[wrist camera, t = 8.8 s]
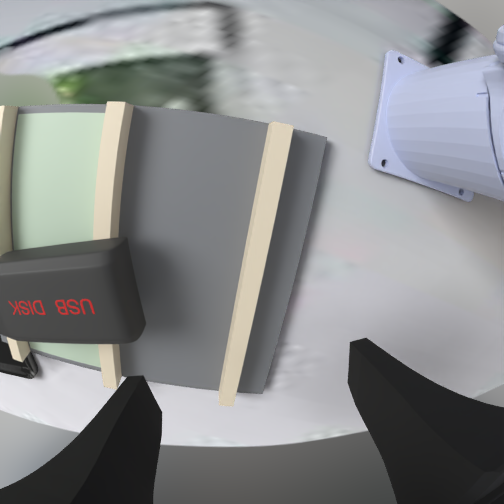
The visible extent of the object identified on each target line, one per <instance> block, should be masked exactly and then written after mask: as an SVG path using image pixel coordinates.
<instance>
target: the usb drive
mask: <svg viewBox="0 0 504 504" xmlns="http://www.w3.org/2000/svg"><path fill="white" fill-rule="evenodd" d="M145 326H146V320H145V316H144V312H143V308H142V304H141V300H140V296H139V292H138V287H137V283H136V278H135V274H134V269H133V264H132V259H131V254H130V249H129V243H128V238H127V237H117V238H108V239H99V240H91V241H83V242H74V243H66V244H59V245H51V246H43V247H36V248H28V249H21V250H14V251H8V252H6V253H5V254H3V255H2V256H0V334H1V335H3V336H6V337H8V338H11V339H13V340H16V341H26V342H42V343H65V344H127V343H132V342H134V341H137V340H138V339H139V338H140V336H141V335H142V333H143V331H144V329H145Z"/></svg>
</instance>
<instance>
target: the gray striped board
mask: <svg viewBox="0 0 504 504" xmlns="http://www.w3.org/2000/svg"><path fill="white" fill-rule="evenodd" d="M293 127H294V126H292V125H288V124H283V123H279V122H274V121H273V122H271V123H269V124H268V123H263V122H258V121H253V120H247V119H242V118H236V117H230V116H224V115H217V114H210V113H203V112H196V111H188V110H179V109H169V108H159V107H146V106H133V105H131V104H129V103H126V102H109V101H107V104H57V105H35V106H21V107H16V106H0V256H2V255H3V254H5V253H6V252H8V251H14V250H21V249H28V248H36V247H43V246H51V245H59V244H66V243H74V242H83V241H91V240H99V239H108V238H117V237H127V238H128V243H129V249H130V254H131V259H132V264H133V269H134V274H135V278H136V283H137V287H138V292H139V296H140V300H141V304H142V308H143V312H144V316H145V320H146V326H145V329H144V331H143V333H142V335H141V336H140V338H139V339H138V340H137V341H134V342H132V343H127V344H65V343H42V342H26V341H16V340H13V339H11V338H8V337H6V336H3V335H1V334H0V335H1V339H2V341H3V342H6V343H8V344H9V347H10V351H11V354H12V357H13V359H15V360H17V361H20V362H23V361H24V359H25V358H26V357H27V355H28V354H29V352H30V351H31V352H34V353H37V354H40V355H43V356H46V357H49V358H53V359H56V360H60V361H63V362H66V363H70V364H74V365H77V366H81V367H85V368H89V369H93V370H97V371H101V372H102V378H103V384H104V387H107V388H112V389H116V390H117V388H118V385H119V382H120V380H121V377H122V376H124V377H128V376H139V375H144V377H145V380H146V381H151V382H156V383H163V384H169V385H176V386H183V387H190V388H198V389H207V390H217V391H219V405H222V406H233V405H234V401H235V397H236V393H237V392H240V393H256V394H262V393H263V390H264V386H265V383H266V380H267V377H268V373H269V370H270V366H271V363H272V360H273V356H274V353H275V349H276V346H277V342H278V339H279V335H280V332H281V328H282V325H283V321H284V317H285V314H286V310H287V306H288V303H289V299H290V295H291V291H292V288H293V284H294V280H295V276H296V272H297V268H298V264H299V260H300V256H301V252H302V248H303V244H304V240H305V236H306V232H307V227H308V223H309V219H310V215H311V210H312V206H313V201H314V197H315V192H316V188H317V183H318V179H319V174H320V169H321V165H322V160H323V155H324V150H325V145H326V140H327V137H324V136H320V135H316V134H312V133H308V132H304V131H300V130H296V129H293Z"/></svg>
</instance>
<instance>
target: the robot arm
mask: <svg viewBox="0 0 504 504" xmlns="http://www.w3.org/2000/svg"><path fill="white" fill-rule="evenodd" d="M493 48H494V51H495V53H496V54H495V55H489V56H483V57H478V58H473V59H468V60H463V61H459V62H454V63H450V64H446V65H442V66H438V67H434V68H429V67H427V66H425V65H423V64H421V63H419V62H417V61H415V60H413V59H411V58H409V57H407V56H405V55H403V54H401V53H399V52H397V51H394V50H390V51H388V52H387V53H386V55H385V62H384V70H383V78H382V85H381V91H380V98H379V104H378V110H377V116H376V122H375V127H374V133H373V138H372V143H371V148H370V153H369V158H368V163H369V165H370V167H371V168H373V169H376V170H379V171H382V172H385V173H389V174H392V175H395V176H398V177H401V178H404V179H407V180H410V181H413V182H416V183H419V184H422V185H425V186H427V187H430V188H433V189H436V190H438V191H441V192H444V193H446V194H449V195H451V196H454V197H457V198H459V199H462V200H464V201H467V202H470V201H471V200H472V199H473V195H474V192H476V193H479V194H482V195H485V196H488V197H492V198H495V199H498V200H501V201H504V25H502V26H501V27H500V28H499V29H498V32H497V36H496V40H495V41H494V43H493ZM398 58H399V59H400V60H401V62H402V63H399V61H398ZM382 160H385V166H384V167H382V165H381V162H382ZM459 190H460V193H459ZM348 385H349V388H350V391H351V394H352V397H353V399H354V402H355V405H356V407H357V409H358V411H359V413H360V415H361V417H362V419H363V421H364V423H365V425H366V427H367V428H368V430H369V432H370V434H371V436H372V438H373V440H374V442H375V444H376V446H377V448H378V450H379V452H380V454H381V456H382V459H383V461H384V463H385V467H386V469H387V472H388V475H389V478H390V481H391V484H392V487H393V490H394V494H395V497H396V500H397V504H504V408H503V407H498V406H494V405H490V404H486V403H483V402H480V401H477V400H474V399H471V398H468V397H465V396H463V395H460V394H458V393H456V392H453V391H451V390H449V389H447V388H444V387H442V386H440V385H438V384H436V383H434V382H433V381H431V380H429V379H427V378H425V377H424V376H422V375H420V374H419V373H417V372H415V371H414V370H412V369H410V368H409V367H407V366H406V365H404V364H403V363H401V362H400V361H398V360H397V359H395V358H394V357H392V356H391V355H390V354H388V353H387V352H385V351H384V350H383V349H381V348H380V347H378V346H377V345H376V344H374V343H373V342H371V341H370V340H369V339H367V338H364V339H360V340H356V341H352V342H350V353H349V371H348ZM161 436H162V411H161V409H160V407H159V405H158V404H157V402H156V400H155V398H154V396H153V394H152V392H151V390H150V388H149V386H148V384H147V382H146V380H145V377H144V375H139V376H128V377H127V378H126V379H125V380H124V382H123V383H122V384H121V385H120V386H119V388H118V389H117V390H116V391H115V393H114V394H113V395H112V396H111V398H110V399H109V400H108V401H107V403H106V404H105V405H104V406H103V408H102V409H101V410H100V411H99V412H98V414H97V415H96V416H95V417H94V418H93V419H92V421H91V422H90V423H89V424H88V425H87V426H86V427H85V428H84V429H83V430H82V432H81V433H80V434H79V435H78V436H77V437H76V438H75V439H74V440H73V441H72V442H71V443H70V444H69V445H68V446H67V447H65V448H64V449H63V450H62V451H61V452H60V453H59V454H57V455H56V456H55V457H54V458H52V459H51V460H50V461H48V462H47V463H46V464H45V465H43V466H42V467H40V468H39V469H37V470H36V471H34V472H33V473H31V474H30V475H28V476H26V477H24V478H23V479H21V480H19V481H17V482H15V483H13V484H11V485H9V486H7V487H4V488H2V489H0V504H153V490H154V482H155V475H156V469H157V462H158V456H159V449H160V443H161Z"/></svg>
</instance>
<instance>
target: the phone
mask: <svg viewBox="0 0 504 504" xmlns="http://www.w3.org/2000/svg"><path fill="white" fill-rule="evenodd" d="M37 371H38V367H37V364H36V362H35V360H34V358H33V355H32V353H31V351H30V352H29V354H28V355H27V357H26V358H25V359H24V361H23V362H20V361H17V360H15V359H13V357H12V354H11V351H10V347H9V344H8V343H6V342H3V341H2V339H1V335H0V372H2V373H6V374H10V375H14V376H19V377H24V378H28V379H32V378H34V376H35V375H36V373H37Z"/></svg>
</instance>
